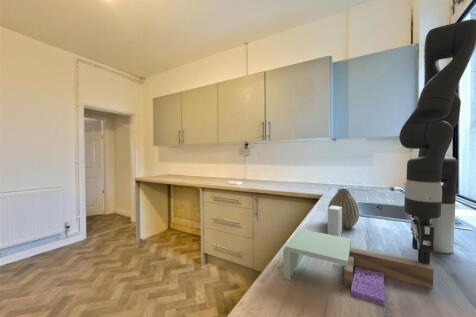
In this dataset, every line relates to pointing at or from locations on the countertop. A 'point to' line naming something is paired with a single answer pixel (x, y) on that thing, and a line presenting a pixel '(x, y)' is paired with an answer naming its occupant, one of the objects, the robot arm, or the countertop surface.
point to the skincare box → (335, 220)
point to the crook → (388, 267)
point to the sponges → (368, 285)
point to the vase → (346, 208)
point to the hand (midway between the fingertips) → (420, 255)
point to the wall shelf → (314, 249)
